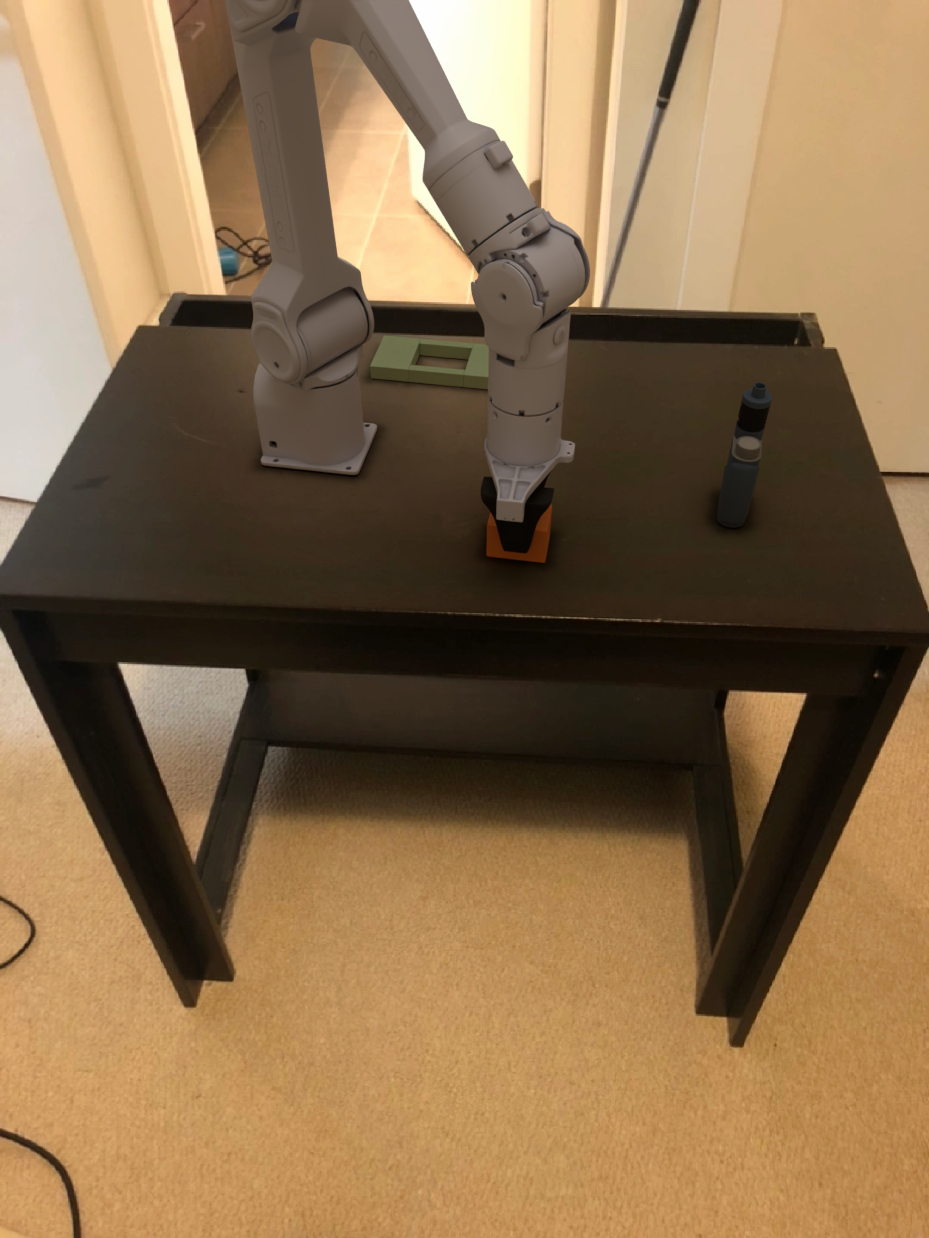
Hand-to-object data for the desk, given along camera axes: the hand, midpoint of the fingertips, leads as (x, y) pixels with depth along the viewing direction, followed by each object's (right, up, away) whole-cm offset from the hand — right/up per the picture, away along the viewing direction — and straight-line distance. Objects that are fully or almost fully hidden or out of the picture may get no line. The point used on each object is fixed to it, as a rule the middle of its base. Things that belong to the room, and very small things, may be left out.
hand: (519, 533), depth 83 cm
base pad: (-7, +19, +21) cm, 30 cm away
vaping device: (+19, +2, +4) cm, 20 cm away
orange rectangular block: (0, -1, +1) cm, 1 cm away
